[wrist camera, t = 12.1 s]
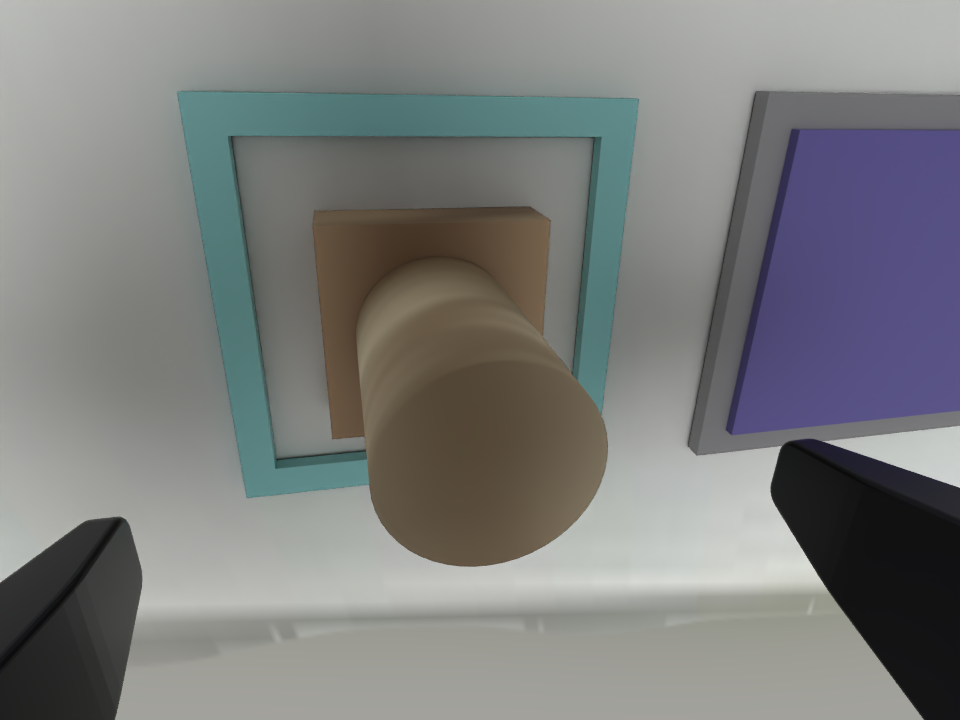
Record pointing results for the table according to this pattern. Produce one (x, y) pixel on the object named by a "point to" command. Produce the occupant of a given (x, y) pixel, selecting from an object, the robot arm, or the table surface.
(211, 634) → the table surface
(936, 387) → the ink pad
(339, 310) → the stamp
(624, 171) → the teal flat square frame
